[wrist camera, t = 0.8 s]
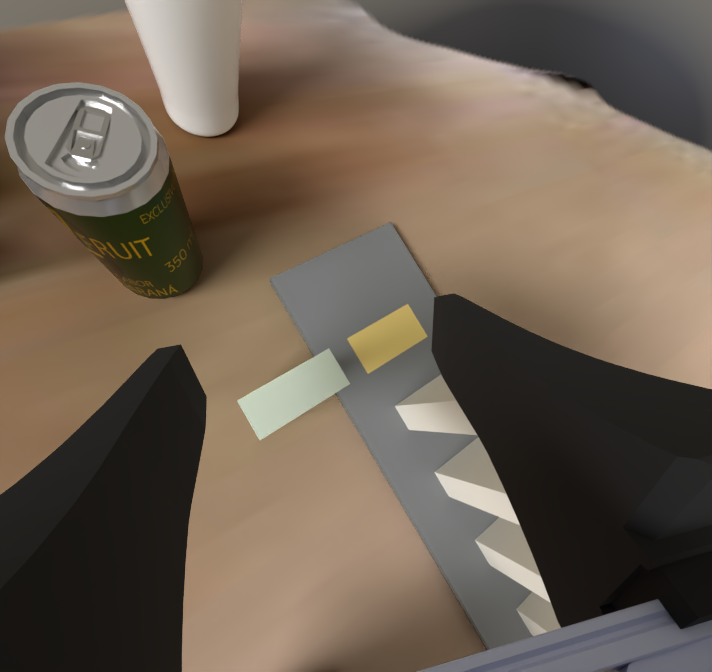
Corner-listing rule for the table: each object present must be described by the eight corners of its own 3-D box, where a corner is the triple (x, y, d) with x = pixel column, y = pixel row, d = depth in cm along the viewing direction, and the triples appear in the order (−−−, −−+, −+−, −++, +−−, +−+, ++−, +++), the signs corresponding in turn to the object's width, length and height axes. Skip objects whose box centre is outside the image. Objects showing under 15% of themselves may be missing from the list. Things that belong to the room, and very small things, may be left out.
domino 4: (533, 521, 27) (659, 568, 19) (489, 564, 26) (605, 637, 17) (519, 498, 27) (638, 534, 19) (474, 539, 26) (582, 599, 17)
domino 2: (456, 395, 28) (545, 385, 19) (408, 429, 26) (482, 435, 18) (443, 372, 28) (525, 352, 19) (394, 406, 26) (461, 400, 18)
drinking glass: (258, 145, 29) (261, -117, 15) (166, 152, 27) (66, -146, 13) (236, 73, 30) (220, -240, 16) (146, 74, 28) (31, -286, 13)
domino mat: (606, 582, 29) (616, 587, 28) (513, 694, 25) (521, 703, 24) (387, 227, 30) (390, 222, 30) (270, 282, 27) (270, 277, 26)
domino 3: (494, 457, 28) (601, 475, 19) (448, 496, 26) (543, 534, 17) (481, 434, 28) (581, 442, 19) (434, 472, 26) (520, 498, 18)
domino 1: (319, 395, 26) (350, 383, 17) (258, 432, 24) (259, 440, 16) (305, 371, 26) (329, 348, 17) (243, 407, 24) (237, 400, 16)
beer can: (128, 221, 25) (23, 58, 14) (210, 238, 26) (177, 101, 15) (108, 294, 24) (-26, 182, 12) (196, 308, 25) (147, 217, 14)
